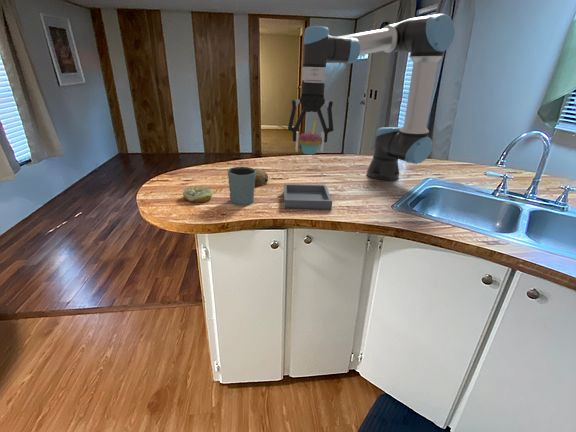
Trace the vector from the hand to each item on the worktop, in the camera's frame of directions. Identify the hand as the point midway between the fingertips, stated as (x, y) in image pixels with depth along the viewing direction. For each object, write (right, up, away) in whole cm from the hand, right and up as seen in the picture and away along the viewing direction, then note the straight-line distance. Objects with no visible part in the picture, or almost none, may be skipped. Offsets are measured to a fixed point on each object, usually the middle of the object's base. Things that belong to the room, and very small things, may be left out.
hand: (309, 150), depth 110 cm
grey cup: (-25, -18, +5) cm, 31 cm away
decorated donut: (-42, -17, +7) cm, 45 cm away
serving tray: (-1, -17, +8) cm, 19 cm away
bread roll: (-22, -9, +26) cm, 35 cm away
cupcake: (0, -1, 0) cm, 1 cm away
